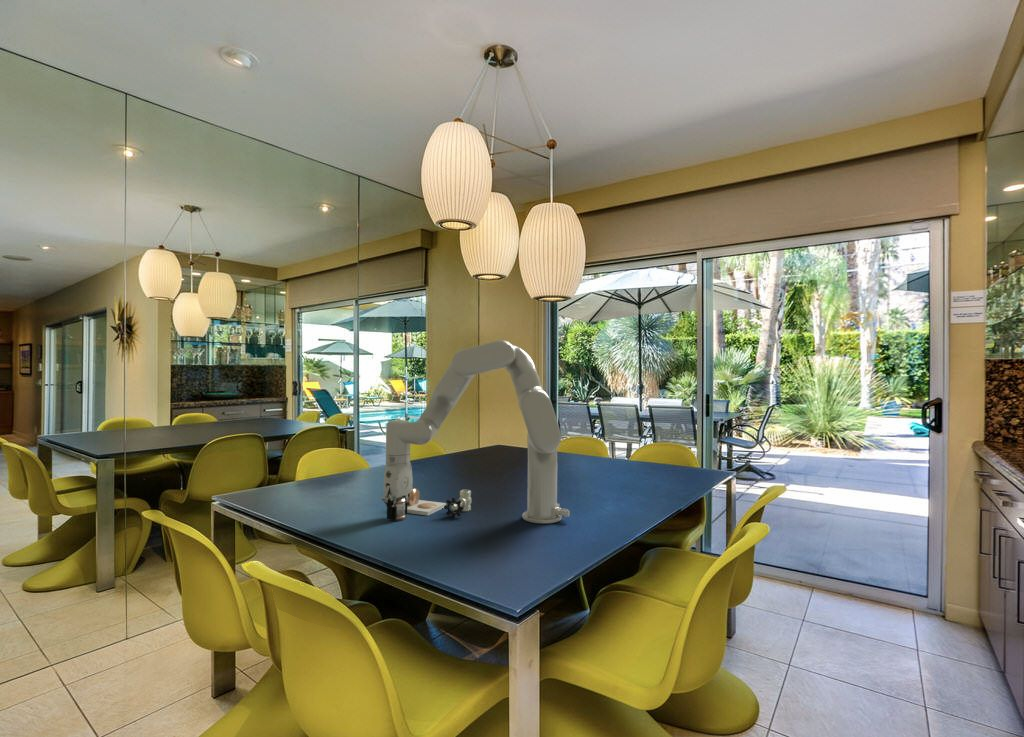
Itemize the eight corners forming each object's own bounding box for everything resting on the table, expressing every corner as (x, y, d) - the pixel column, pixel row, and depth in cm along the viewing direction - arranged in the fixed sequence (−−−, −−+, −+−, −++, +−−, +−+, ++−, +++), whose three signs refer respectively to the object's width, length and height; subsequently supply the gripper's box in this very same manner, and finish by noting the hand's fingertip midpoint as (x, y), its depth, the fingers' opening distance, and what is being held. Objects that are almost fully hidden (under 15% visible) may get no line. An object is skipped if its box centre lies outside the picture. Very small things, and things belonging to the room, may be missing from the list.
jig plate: (446, 506, 174) (446, 502, 174) (427, 515, 163) (428, 511, 163) (416, 503, 178) (416, 499, 178) (396, 511, 167) (396, 507, 167)
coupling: (408, 517, 160) (409, 497, 160) (399, 521, 155) (399, 500, 155) (395, 515, 162) (395, 495, 162) (385, 519, 157) (385, 499, 157)
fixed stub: (419, 506, 174) (419, 487, 174) (409, 510, 169) (410, 490, 169) (410, 504, 176) (410, 486, 176) (400, 509, 170) (400, 489, 170)
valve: (458, 507, 173) (443, 517, 161) (458, 488, 173) (444, 496, 162) (476, 509, 171) (462, 519, 160) (476, 490, 171) (462, 498, 160)
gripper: (391, 464, 150) (391, 525, 149) (422, 456, 166) (421, 511, 165) (371, 462, 153) (370, 522, 152) (403, 454, 168) (402, 508, 168)
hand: (397, 516), depth 159 cm, fingers closed on coupling, 5 cm apart
